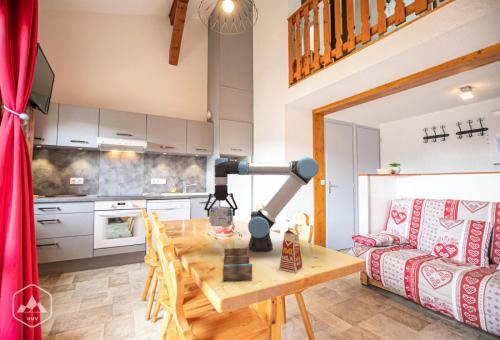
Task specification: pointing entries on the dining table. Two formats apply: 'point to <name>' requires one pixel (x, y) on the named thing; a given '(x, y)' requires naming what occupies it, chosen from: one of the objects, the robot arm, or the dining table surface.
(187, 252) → the dining table surface
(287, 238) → the milk carton
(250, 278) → the rack
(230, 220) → the light bulb box
